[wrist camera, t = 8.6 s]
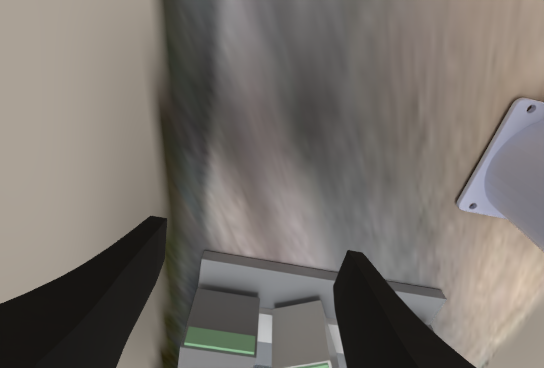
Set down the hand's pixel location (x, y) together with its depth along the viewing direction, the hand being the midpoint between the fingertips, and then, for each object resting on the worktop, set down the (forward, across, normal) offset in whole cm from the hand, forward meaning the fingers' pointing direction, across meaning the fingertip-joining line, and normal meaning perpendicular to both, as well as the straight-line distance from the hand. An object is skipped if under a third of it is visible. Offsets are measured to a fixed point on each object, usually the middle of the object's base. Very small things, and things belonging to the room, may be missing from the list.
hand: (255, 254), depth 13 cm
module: (+8, -7, +15) cm, 18 cm away
